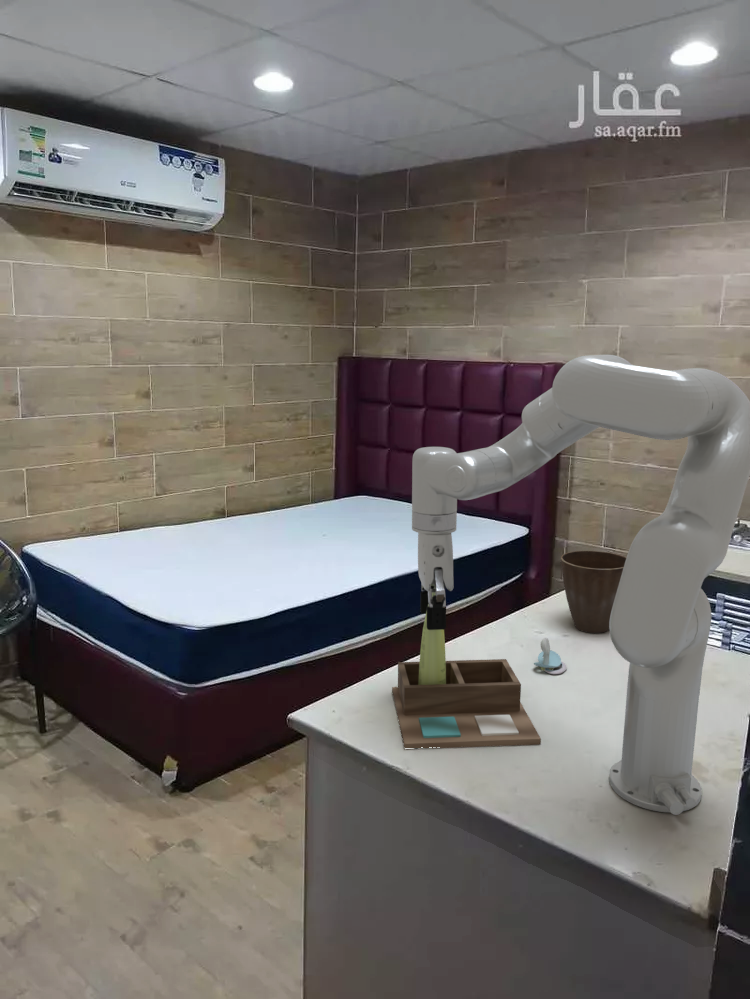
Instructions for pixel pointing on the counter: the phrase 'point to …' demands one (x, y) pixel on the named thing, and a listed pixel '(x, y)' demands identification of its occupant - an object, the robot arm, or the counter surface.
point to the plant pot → (591, 587)
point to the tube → (432, 656)
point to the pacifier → (549, 659)
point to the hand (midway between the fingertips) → (432, 620)
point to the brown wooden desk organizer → (463, 707)
